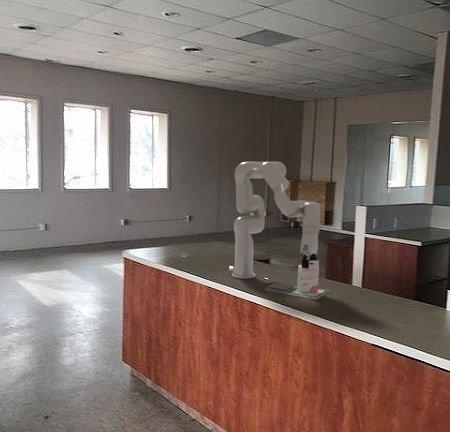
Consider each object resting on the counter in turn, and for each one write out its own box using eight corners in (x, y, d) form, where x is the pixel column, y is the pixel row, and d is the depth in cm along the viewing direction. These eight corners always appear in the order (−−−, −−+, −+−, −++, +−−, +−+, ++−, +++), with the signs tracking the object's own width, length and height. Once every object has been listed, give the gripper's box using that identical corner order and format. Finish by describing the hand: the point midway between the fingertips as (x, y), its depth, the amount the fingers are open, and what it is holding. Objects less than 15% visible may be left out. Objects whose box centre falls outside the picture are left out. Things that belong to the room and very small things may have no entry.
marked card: (286, 294, 223) (286, 292, 222) (301, 286, 237) (301, 285, 237) (315, 299, 215) (315, 298, 215) (329, 291, 230) (329, 289, 230)
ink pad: (265, 290, 228) (265, 286, 228) (274, 286, 237) (274, 282, 237) (286, 294, 223) (286, 290, 222) (295, 289, 231) (295, 286, 231)
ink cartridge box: (313, 288, 230) (315, 257, 228) (317, 291, 226) (320, 260, 223) (296, 288, 228) (298, 258, 226) (300, 292, 223) (302, 261, 221)
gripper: (310, 226, 232) (308, 262, 234) (295, 230, 217) (294, 268, 219) (325, 228, 228) (323, 264, 230) (311, 232, 214) (309, 270, 216)
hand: (309, 266), depth 225 cm, fingers closed on ink cartridge box, 9 cm apart
